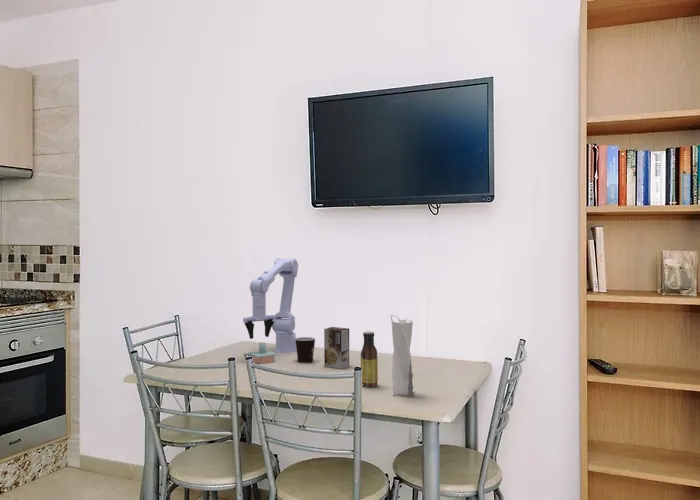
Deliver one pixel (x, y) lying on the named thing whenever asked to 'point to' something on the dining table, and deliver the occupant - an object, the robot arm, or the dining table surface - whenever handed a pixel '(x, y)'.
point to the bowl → (263, 360)
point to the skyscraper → (402, 358)
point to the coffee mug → (305, 349)
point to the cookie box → (336, 347)
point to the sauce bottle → (369, 361)
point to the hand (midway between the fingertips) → (259, 337)
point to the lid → (262, 352)
